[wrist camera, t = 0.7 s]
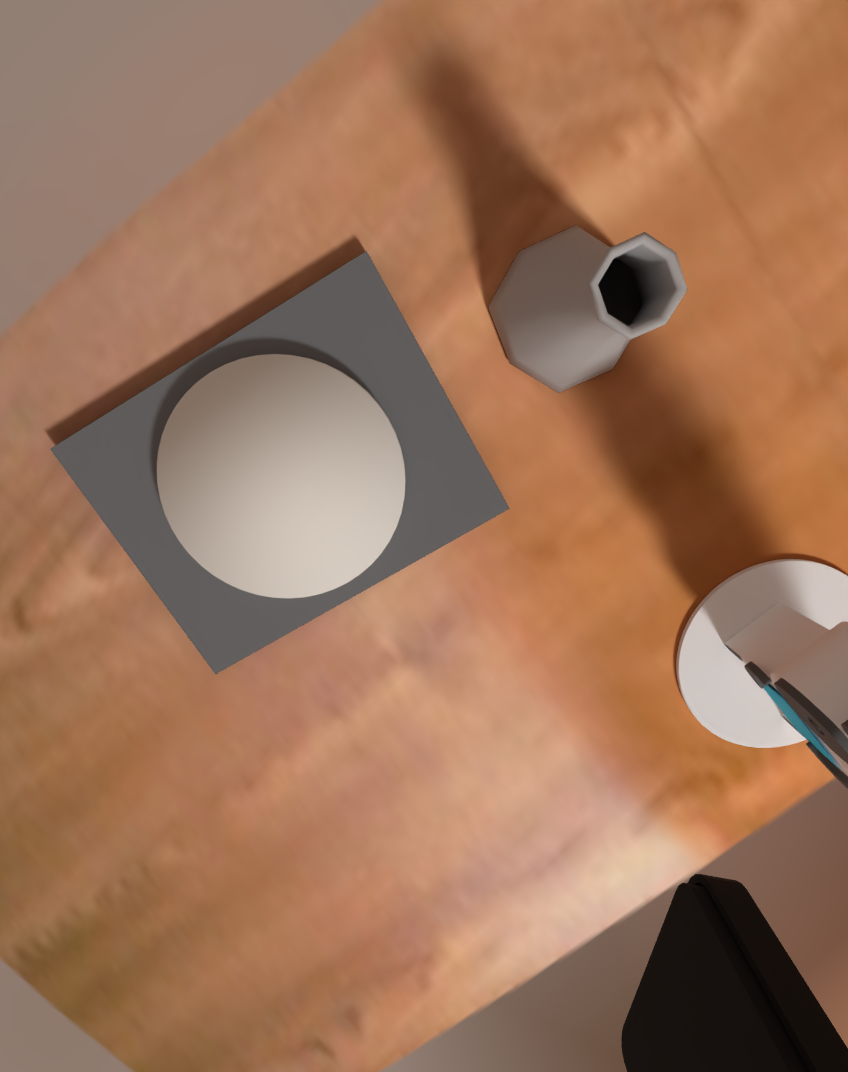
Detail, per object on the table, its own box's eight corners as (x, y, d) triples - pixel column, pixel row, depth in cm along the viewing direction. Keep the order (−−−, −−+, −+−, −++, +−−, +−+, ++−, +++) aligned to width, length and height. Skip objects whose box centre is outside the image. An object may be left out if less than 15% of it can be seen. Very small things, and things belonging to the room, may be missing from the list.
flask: (460, 305, 31) (486, 277, 21) (577, 196, 30) (660, 113, 20) (554, 418, 32) (618, 439, 23) (668, 317, 31) (786, 295, 22)
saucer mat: (367, 254, 30) (365, 247, 29) (507, 505, 33) (512, 511, 32) (58, 447, 32) (41, 450, 30) (219, 667, 35) (211, 681, 34)
